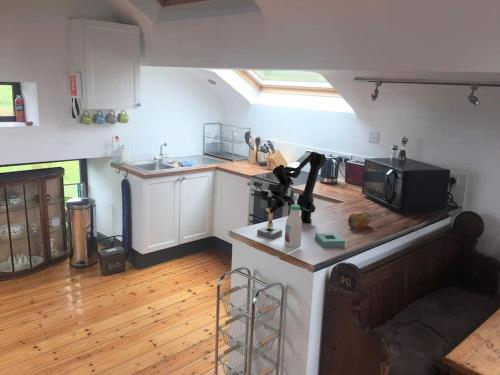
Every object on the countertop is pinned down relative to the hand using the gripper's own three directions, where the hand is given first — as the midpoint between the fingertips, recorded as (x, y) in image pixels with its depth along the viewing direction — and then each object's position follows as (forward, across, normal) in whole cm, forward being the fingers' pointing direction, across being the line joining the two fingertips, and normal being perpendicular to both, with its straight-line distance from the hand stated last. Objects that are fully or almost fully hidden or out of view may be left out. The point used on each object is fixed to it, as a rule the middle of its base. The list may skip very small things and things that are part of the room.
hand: (269, 212), depth 214 cm
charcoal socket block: (+8, 0, +10) cm, 13 cm away
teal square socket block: (-1, +27, +19) cm, 33 cm away
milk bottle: (+11, +16, +8) cm, 21 cm away
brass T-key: (+5, 0, +7) cm, 8 cm away
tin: (-24, +27, +43) cm, 56 cm away
